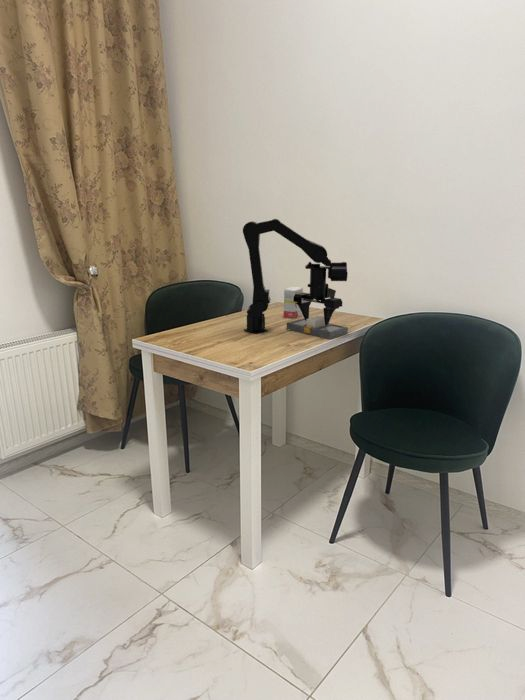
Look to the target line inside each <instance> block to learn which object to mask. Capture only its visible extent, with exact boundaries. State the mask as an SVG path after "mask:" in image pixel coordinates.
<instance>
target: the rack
mask: <svg viewBox="0 0 525 700" xmlns="http://www.w3.org/2000/svg"><path fill="white" fill-rule="evenodd" d="M288 329H289V330H288ZM286 330H288V331H293V332H296V333H302V334H306V335H308V336H309V335H310V336H314V337H318V338H322V339H326V340H333V339H335V338H339V337H343V336H346V335H348V333H349V327H348V326H345V325H339V324H333V323H330V322H329V323H328V325H325V326H322V327H318V328H313V327H309V326H306V320H305V318H304V317H303V318H301V319H297V320H291V321H289V322H286Z"/></svg>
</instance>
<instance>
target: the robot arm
mask: <svg viewBox="0 0 525 700" xmlns="http://www.w3.org/2000/svg"><path fill="white" fill-rule="evenodd" d="M271 232H275V233H277V234H279V236H281V237H283V238H284V239H286V240H287V241H289V242H290V243H292V244H294V246H296V247H298V248H299V249H301V250H302V251H303V252H304V253H305V255H307V256H308V257H309V258H310V259H311V260H312V261H313V262H314V263H312V262H311V261H308V263H307V264H306V265H305V266H304V269H306V270H309V273H310V275H309V283H308V284H307V288H309V293H308V292H304V291H303V292H302V293H298V294H295V295H294V302H297V303H296V304H297V305H298V306H299V308H300V310H301V312H302V316H303V318H305V320H306V321H307V319H309V318H310V306H311V305H312V303H316V304H317V303H318V304H323V306H324V307H323V308H322V310H323V317H324V321H325V325H328V323H330V320H331V318H332V316H333V314H334V313H335V312H334V311H336V309H339V308H341V307H343V300H342V298H340V297H339V298H338V297H335V296H336V292H337V291H336V289H333V288H330V287H329V284H328V283H327V281H326V280H327V279H329V280H330V282H347V281H348V268H347V267H348V262H346V261H341V262H332V260H331V259H330V258H329V257H328V252H327V249H326V247H324V246H323V245H322V244H319V243H316V242H315V241H312V240H309V239H307V238H305V237H304V236H302V235H301V234H299V233H298V232H296V231H295V230H293V229H291V227H289V226H287V225H286V224H284V223H283V222H282V221H280V220H279V219H278V218H272V219H271V220H265V221H261V222H256V221H253V220H252V221H248V222H247V223H245V224H244V226H243V227H242V234H243V238H244V241H245V244H246V247H247V249H248V253H249V261H250V269H251V270H250V271H251V277H252V285H253V289H252V290H253V291H252V303H251V304H250V305H249V306H248V308H247V310H246V328H243V331H245V332H248V333H252V334H259V333H263V332H267V331H268V328H266V317H265V313H264V312H267V310H268V309H269V308H268V307H269V304H271V297H270V289H266V287H265V284H264V277H263V268H262V260H261V254H260V253H261V251H260V243H261V242H260V241H261V240H260V239H261V235H263V234H266V233H271ZM321 264H322V265H323V266H321Z"/></svg>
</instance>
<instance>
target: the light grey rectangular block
mask: <svg viewBox="0 0 525 700" xmlns="http://www.w3.org/2000/svg"><path fill="white" fill-rule="evenodd" d="M306 326H309V327H313V328H318V327H322V326H325V321H324V316H319V315H317V316H314V317H309V319H307V321H306Z"/></svg>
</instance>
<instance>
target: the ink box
mask: <svg viewBox="0 0 525 700" xmlns="http://www.w3.org/2000/svg"><path fill="white" fill-rule="evenodd" d="M302 292H303V293H304V287H301V286H290V287H287V288H284V289H283V318H288V319H295V318H298V317H300V316H303V314H302V312H301V310H300V308H299V306H298V305H297V304H296V303H297V302H294V295H295V294H298V293H302Z"/></svg>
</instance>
